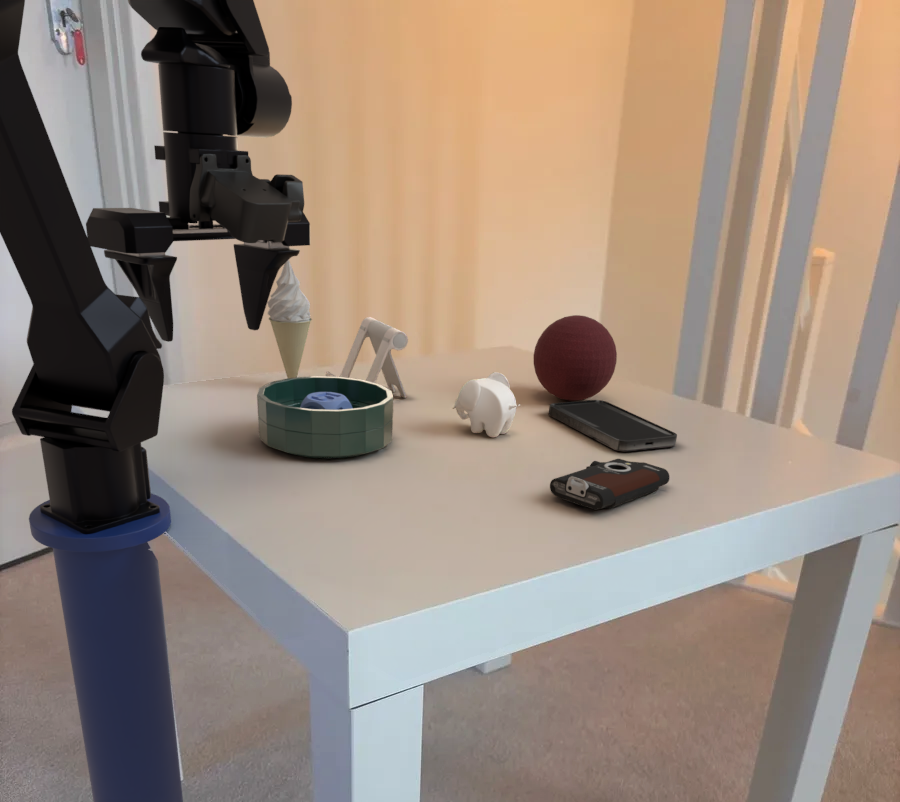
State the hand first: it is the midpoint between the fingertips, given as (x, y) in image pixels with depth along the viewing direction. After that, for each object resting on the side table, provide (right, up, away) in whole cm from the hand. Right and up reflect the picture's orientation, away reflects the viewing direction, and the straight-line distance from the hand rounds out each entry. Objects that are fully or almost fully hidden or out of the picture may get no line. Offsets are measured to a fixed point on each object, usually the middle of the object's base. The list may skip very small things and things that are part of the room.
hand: (212, 335), depth 79 cm
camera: (+35, -14, +4) cm, 38 cm away
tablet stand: (+11, +1, +29) cm, 31 cm away
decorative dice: (+8, -7, +13) cm, 17 cm away
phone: (+38, -4, +22) cm, 44 cm away
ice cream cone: (+2, +3, +31) cm, 31 cm away
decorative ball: (+36, +1, +33) cm, 49 cm away
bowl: (+8, -7, +13) cm, 17 cm away
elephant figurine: (+25, -5, +19) cm, 31 cm away
